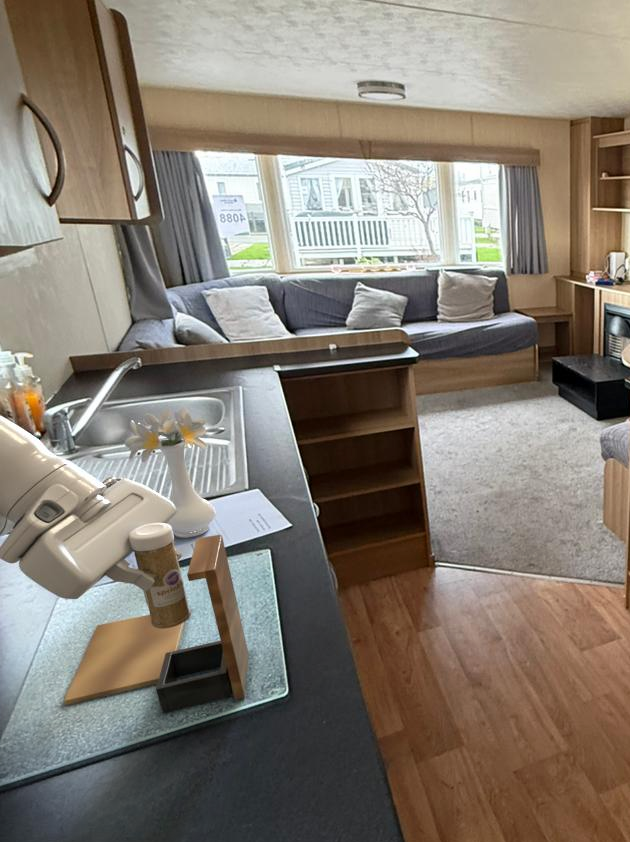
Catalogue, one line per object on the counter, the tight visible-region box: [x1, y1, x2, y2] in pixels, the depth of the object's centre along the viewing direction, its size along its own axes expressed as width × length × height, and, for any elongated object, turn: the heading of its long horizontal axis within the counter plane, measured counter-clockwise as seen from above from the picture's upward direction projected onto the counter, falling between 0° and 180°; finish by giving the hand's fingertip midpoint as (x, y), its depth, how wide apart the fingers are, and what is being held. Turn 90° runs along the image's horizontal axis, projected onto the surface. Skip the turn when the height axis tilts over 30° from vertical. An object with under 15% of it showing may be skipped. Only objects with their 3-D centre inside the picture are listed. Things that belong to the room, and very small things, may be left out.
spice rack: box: [155, 533, 249, 715], centre depth 86 cm, size 10×10×20 cm
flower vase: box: [124, 407, 217, 539], centre depth 127 cm, size 13×18×25 cm
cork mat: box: [63, 614, 186, 706], centre depth 96 cm, size 12×18×1 cm, turn 24°
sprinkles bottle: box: [129, 523, 192, 629], centre depth 84 cm, size 5×5×13 cm
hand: (165, 572), depth 84 cm, fingers closed on sprinkles bottle, 4 cm apart
